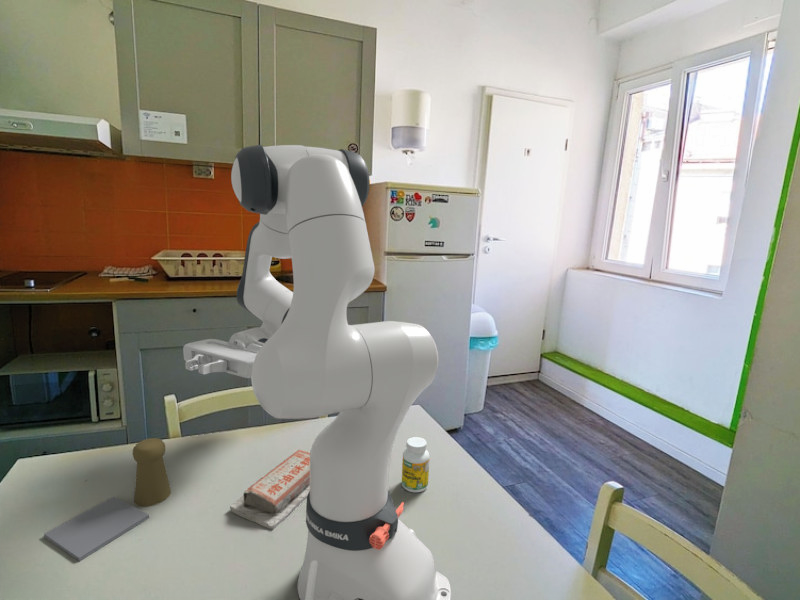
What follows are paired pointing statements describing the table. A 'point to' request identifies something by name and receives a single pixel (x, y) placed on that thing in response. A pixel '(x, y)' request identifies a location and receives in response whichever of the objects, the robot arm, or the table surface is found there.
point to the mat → (96, 527)
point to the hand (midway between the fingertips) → (194, 368)
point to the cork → (150, 473)
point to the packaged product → (276, 492)
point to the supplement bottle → (415, 465)
